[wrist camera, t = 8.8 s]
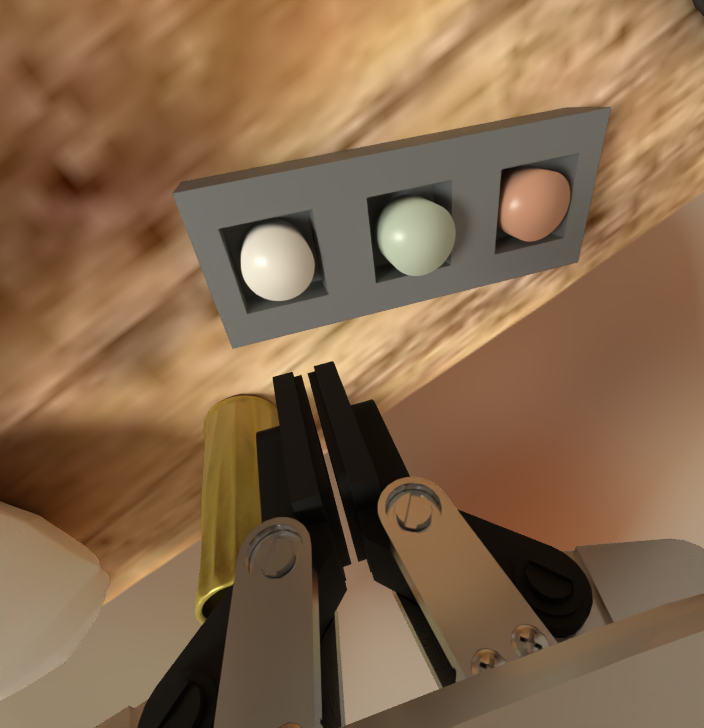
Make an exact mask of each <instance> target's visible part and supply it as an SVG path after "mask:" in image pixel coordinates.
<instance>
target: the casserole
mask: <svg viewBox="0 0 704 728" xmlns="http://www.w3.org/2000/svg"><path fill="white" fill-rule="evenodd" d="M692 1H693V3H694V5H695V7H696V8H697V9H698V10H699V11H700V13H701V14H702V15H703V16H704V0H692Z"/></svg>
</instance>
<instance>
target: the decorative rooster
mask: <svg viewBox="0 0 704 728" xmlns="http://www.w3.org/2000/svg"><path fill="white" fill-rule="evenodd" d="M109 583H110V578H109V575H108V574H107V573H106V572H105V571H104V570H103V569H102V568H101V567H100V562H99V560H98V558H97V557H96V555H95V554H94V553H93V552H91V551H90V550H89V549H88V548H87V547H86V546H84V545H83V544H82V543H80V542H79V541H77V540H76V539H74V538H73V537H71V536H70V535H68V534H66V533H65V532H63V531H62V530H60V529H59V528H57V527H56V526H54V525H53V524H51V523H50V522H48V521H47V520H45V519H44V518H42V517H41V516H39V515H36V514H34V513H31V512H28V511H25V510H22V509H20V508H17V507H14V506H12V505H9V504H6V503H3V502H1V501H0V700H2V699H4V698H6V697H8V696H10V695H12V694H14V693H16V692H18V691H19V690H21V689H23V688H25V687H26V686H28V685H29V684H31V683H33V682H34V681H36V680H37V679H39V678H41V677H42V676H44V675H45V674H47V673H48V672H50V671H51V670H53V669H55V668H56V667H58V666H59V665H61V664H62V663H63V662H65V661H66V660H67V659H69V658H70V657H71V655H72V654H73V653H74V651H75V650H76V648H77V647H78V645H79V644H80V642H81V641H82V639H83V638H84V636H85V635H86V633H87V631H88V630H89V629H90V627H91V626H92V624H93V622H94V621H95V619H96V618H97V616H98V614H99V612H100V609H101V607H102V604H103V602H104V599H105V596H106V594H107V591H108V588H109Z"/></svg>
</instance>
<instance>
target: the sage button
mask: <svg viewBox="0 0 704 728" xmlns="http://www.w3.org/2000/svg"><path fill="white" fill-rule="evenodd" d="M455 235H456V232H455V224H454V221H453V219H452V217H451V215H450V214H449V212H448V211H447V210H446V209H444V208H443V207H441V206H440V205H438V204H435V203H433V202H431V201H429V200H427V199H425V198H423V197H421V196H418V195H414V194H404V195H400V196H398V197H395V198H394V199H392V200H391V201H389V202H388V203H387V204H386V205H385V206H384V207H383V208H382V210H381V211H380V213H379V215H378V217H377V219H376V222H375V227H374V239H375V243H376V246H377V248H378V249H379V251H380V252H381V253H382V254H383V255H384V256H385V257H386V258H387V259H388V260H389V261H390V262H391V263H392V264H393V265H394V266H395V267H396V268H397V269H398V270H399V271H400V272H402V273H404V274H406V275H410V276H421V275H426V274H428V273H431V272H433V271H434V270H436V269H437V268H439V267H440V266H441V265H442V264H443V263H444V262H445V261H446V259H447V258H448V256H449V255H450V253H451V251H452V248H453V246H454V242H455Z"/></svg>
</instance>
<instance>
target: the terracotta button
mask: <svg viewBox="0 0 704 728" xmlns="http://www.w3.org/2000/svg"><path fill="white" fill-rule="evenodd" d="M569 202H570V187H569V184H568V181H567V180H566V178H565V177H564V176H563V175H562V174H560V173H558V172H555V171H550V170H545V169H539V168H534V167H529V166H517V167H514V168H511V169H509V170H508V171H506V172H505V173H504V174H502V175H501V180H500V193H499V205H498V217H497V229H498V230H501V231H503V232H505V233H507V234H509V235H511V236H514V237H516V238H518V239H520V240H523V241H527V242H532V241H537V240H540V239H542V238H544V237H546V236H547V235H549V234H550V233H551V232H552V231H553V230H554V229H555V228H556V227H557V226H558V225H559V224H560V222H561V221H562V219H563V217H564V216H565V214H566V211H567V209H568V206H569Z"/></svg>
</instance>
